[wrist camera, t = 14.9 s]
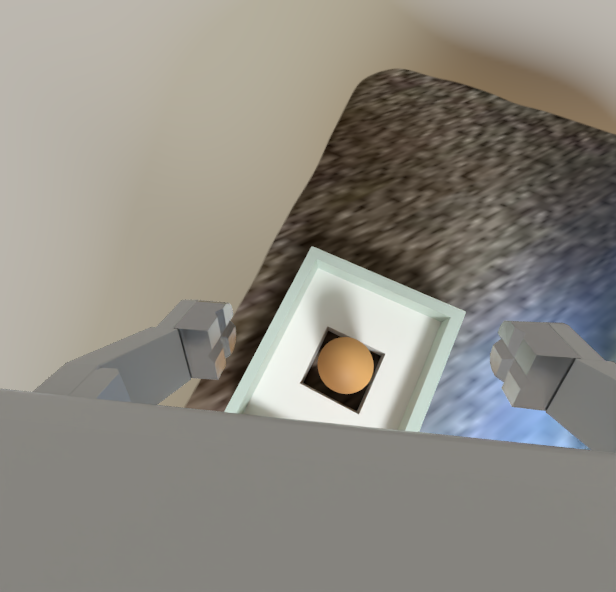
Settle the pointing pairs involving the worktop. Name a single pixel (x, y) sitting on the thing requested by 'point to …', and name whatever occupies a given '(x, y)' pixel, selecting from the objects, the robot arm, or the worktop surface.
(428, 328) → the bore box
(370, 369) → the peg
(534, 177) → the worktop surface
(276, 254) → the worktop surface
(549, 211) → the worktop surface
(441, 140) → the worktop surface
